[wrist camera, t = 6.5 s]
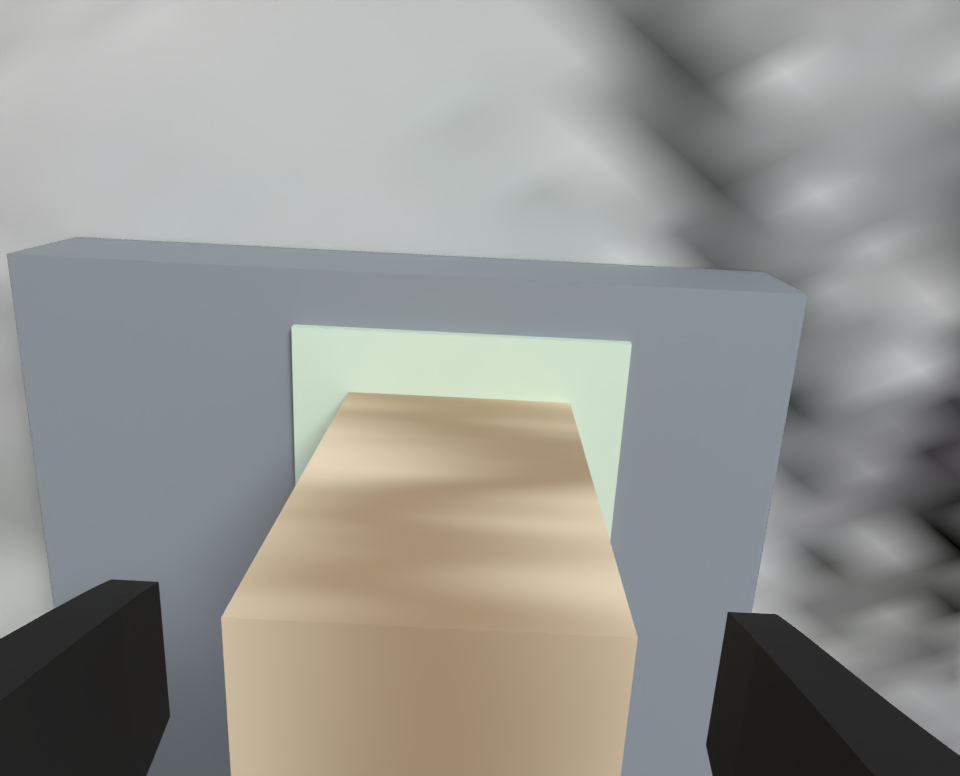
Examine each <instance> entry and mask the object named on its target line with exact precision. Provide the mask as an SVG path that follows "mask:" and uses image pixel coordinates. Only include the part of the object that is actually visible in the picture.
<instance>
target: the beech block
mask: <svg viewBox="0 0 960 776" xmlns="http://www.w3.org/2000/svg"><path fill="white" fill-rule="evenodd" d="M221 625H222V641H223V657H224V672H225V688H226V704H227V720H228V736H229V752H230V768H231V776H621V769H622V761H623V753H624V745H625V737H626V729H627V721H628V713H629V705H630V697H631V689H632V681H633V673H634V665H635V657H636V648H637V640H638V637H637V633H636V630H635V626H634V623H633V619H632V616H631V612H630V609H629V605H628V602H627V598H626V595H625V591H624V588H623V585H622V581H621V578H620V574H619V571H618V567H617V564H616V560H615V557H614V553H613V550H612V546H611V543H610V540H609V536H608V533H607V529H606V526H605V522H604V519H603V515H602V512H601V508H600V505H599V501H598V498H597V494H596V491H595V488H594V484H593V481H592V477H591V474H590V470H589V467H588V463H587V460H586V456H585V453H584V449H583V446H582V442H581V439H580V436H579V432H578V429H577V425H576V422H575V418H574V415H573V411H572V408H571V404H570V403H565V402H545V401H524V400H503V399H483V398H462V397H441V396H420V395H400V394H379V393H358V392H348V394H347V396H346V397H345V399H344V401H343V403H342V405H341V406H340V408H339V410H338V412H337V413H336V415H335V417H334V419H333V420H332V422H331V424H330V426H329V427H328V429H327V431H326V433H325V435H324V436H323V438H322V440H321V442H320V443H319V445H318V447H317V449H316V450H315V452H314V454H313V456H312V458H311V459H310V461H309V463H308V465H307V466H306V468H305V470H304V472H303V473H302V475H301V477H300V479H299V481H298V482H297V484H296V486H295V488H294V489H293V491H292V493H291V495H290V496H289V498H288V500H287V502H286V504H285V505H284V507H283V509H282V511H281V512H280V514H279V516H278V518H277V519H276V521H275V523H274V525H273V526H272V528H271V530H270V532H269V534H268V535H267V537H266V539H265V541H264V542H263V544H262V546H261V548H260V549H259V551H258V553H257V555H256V557H255V558H254V560H253V562H252V564H251V565H250V567H249V569H248V571H247V572H246V574H245V576H244V578H243V580H242V581H241V583H240V585H239V587H238V588H237V590H236V592H235V594H234V595H233V597H232V599H231V601H230V602H229V604H228V606H227V608H226V610H225V611H224V613H223V615H222V617H221Z"/></svg>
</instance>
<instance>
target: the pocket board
mask: <svg viewBox="0 0 960 776" xmlns="http://www.w3.org/2000/svg"><path fill="white" fill-rule="evenodd" d="M7 260H8V267H9V275H10V282H11V289H12V297H13V304H14V312H15V319H16V327H17V334H18V342H19V349H20V357H21V364H22V371H23V379H24V386H25V394H26V401H27V409H28V416H29V424H30V431H31V438H32V446H33V453H34V461H35V468H36V476H37V483H38V491H39V498H40V506H41V513H42V520H43V528H44V535H45V543H46V550H47V558H48V565H49V573H50V580H51V588H52V595H53V602H54V609H55V608H56V607H58V606H60V605H62V604H64V603H65V602H67V601H69V600H71V599H73V598H74V597H76V596H78V595H80V594H82V593H84V592H86V591H88V590H90V589H92V588H94V587H96V586H98V585H100V584H102V583H104V582H106V581H109V580H111V579H114V580H133V581H152V582H159V591H160V602H161V614H162V626H163V638H164V650H165V661H166V673H167V685H168V697H169V709H170V718H169V721H168V723H167V726H166V728H165V731H164V733H163V736H162V738H161V741H160V744H159V746H158V749H157V751H156V754H155V756H154V759H153V761H152V764H151V766H150V768H149V771H148V773H147V775H146V776H231V768H230V752H229V736H228V720H227V704H226V688H225V672H224V657H223V641H222V625H221V617H222V615H223V613H224V611H225V610H226V608H227V606H228V604H229V602H230V601H231V599H232V597H233V595H234V594H235V592H236V590H237V588H238V587H239V585H240V583H241V581H242V580H243V578H244V576H245V574H246V572H247V571H248V569H249V567H250V565H251V564H252V562H253V560H254V558H255V557H256V555H257V553H258V551H259V549H260V548H261V546H262V544H263V542H264V541H265V539H266V537H267V535H268V534H269V532H270V530H271V528H272V526H273V525H274V523H275V521H276V519H277V518H278V516H279V514H280V512H281V511H282V509H283V507H284V505H285V504H286V502H287V500H288V498H289V496H290V495H291V493H292V491H293V489H294V488H295V486H296V484H297V482H298V481H299V479H300V477H301V475H302V473H303V472H304V470H305V468H306V466H307V465H308V463H309V461H310V459H311V458H312V456H313V454H314V452H315V450H316V449H317V447H318V445H319V443H320V442H321V440H322V438H323V436H324V435H325V433H326V431H327V429H328V427H329V426H330V424H331V422H332V420H333V419H334V417H335V415H336V413H337V412H338V410H339V408H340V406H341V405H342V403H343V401H344V399H345V397H346V396H347V394H348V392H358V393H379V394H400V395H420V396H441V397H462V398H483V399H503V400H524V401H545V402H565V403H570V404H571V408H572V411H573V415H574V418H575V422H576V425H577V429H578V432H579V436H580V439H581V442H582V446H583V449H584V453H585V456H586V460H587V463H588V467H589V470H590V474H591V477H592V481H593V484H594V488H595V491H596V494H597V498H598V501H599V505H600V508H601V512H602V515H603V519H604V522H605V526H606V529H607V533H608V536H609V540H610V543H611V546H612V550H613V553H614V557H615V560H616V564H617V567H618V571H619V574H620V578H621V581H622V585H623V588H624V591H625V595H626V598H627V602H628V605H629V609H630V612H631V616H632V619H633V623H634V626H635V630H636V633H637V637H638V640H637V648H636V657H635V665H634V673H633V681H632V689H631V697H630V705H629V713H628V721H627V729H626V737H625V745H624V753H623V761H622V769H621V776H712V771H711V766H710V762H709V757H708V753H707V748H706V741H707V735H708V729H709V723H710V717H711V710H712V704H713V698H714V692H715V686H716V680H717V674H718V668H719V662H720V656H721V650H722V644H723V638H724V631H725V625H726V619H727V613H728V612H741V613H752V608H753V602H754V596H755V591H756V585H757V579H758V574H759V568H760V562H761V557H762V551H763V545H764V540H765V534H766V528H767V523H768V517H769V511H770V506H771V500H772V494H773V489H774V483H775V477H776V472H777V466H778V460H779V455H780V449H781V444H782V438H783V432H784V427H785V421H786V415H787V410H788V404H789V398H790V393H791V387H792V381H793V376H794V370H795V364H796V359H797V353H798V347H799V342H800V336H801V330H802V325H803V319H804V313H805V308H806V302H807V296H808V294H806V293H804V292H802V291H800V290H798V289H796V288H794V287H792V286H790V285H788V284H786V283H784V282H782V281H780V280H778V279H776V278H774V277H772V276H770V275H768V274H766V273H764V272H753V271H734V270H714V269H694V268H674V267H655V266H635V265H615V264H595V263H575V262H556V261H536V260H516V259H496V258H477V257H457V256H437V255H417V254H397V253H378V252H358V251H338V250H318V249H299V248H279V247H259V246H239V245H219V244H200V243H180V242H160V241H140V240H121V239H101V238H81V237H75V238H71V239H67V240H63V241H58V242H54V243H50V244H46V245H42V246H38V247H34V248H29V249H25V250H21V251H17V252H13V253H9V254H7Z"/></svg>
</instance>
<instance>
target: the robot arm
mask: <svg viewBox="0 0 960 776" xmlns="http://www.w3.org/2000/svg"><path fill="white" fill-rule="evenodd" d="M169 718H170V709H169V697H168V685H167V673H166V661H165V650H164V638H163V626H162V614H161V602H160V591H159V582H152V581H133V580H114V579H111V580H109V581H106V582H104V583H102V584H100V585H98V586H96V587H94V588H92V589H90V590H88V591H86V592H84V593H82V594H80V595H78V596H76V597H74V598H73V599H71V600H69V601H67V602H65V603H64V604H62V605H60V606H58V607H56V608H55V609H53V610H51V611H49V612H47V613H46V614H44V615H42V616H40V617H39V618H37V619H35V620H33V621H32V622H30V623H28V624H26V625H24V626H23V627H21V628H19V629H17V630H16V631H14V632H12V633H10V634H8V635H7V636H5V637H3V638H1V639H0V776H146V775H147V773H148V771H149V768H150V766H151V764H152V761H153V759H154V756H155V754H156V751H157V749H158V746H159V744H160V741H161V738H162V736H163V733H164V731H165V728H166V726H167V723H168V721H169ZM706 748H707V753H708V757H709V762H710V766H711V771H712V776H960V755H958V754H957V753H955V752H954V751H952V750H951V749H950V748H948V747H947V746H946V745H944V744H943V743H942V742H940V741H939V740H938V739H936V738H935V737H934V736H932V735H931V734H930V733H928V732H927V731H926V730H924V729H923V728H922V727H920V726H919V725H918V724H916V723H915V722H914V721H912V720H911V719H910V718H908V717H907V716H906V715H905V714H903V713H902V712H901V711H899V710H898V709H897V708H896V707H894V706H893V705H892V704H890V703H889V702H888V701H887V700H885V699H884V698H883V697H881V696H880V695H879V694H878V693H876V692H875V691H874V690H873V689H871V688H870V687H869V686H868V685H866V684H865V683H864V682H863V681H861V680H860V679H859V678H858V677H856V676H855V675H854V674H853V673H851V672H850V671H849V670H848V669H846V668H845V667H844V666H843V665H841V664H840V663H839V662H838V661H836V660H835V659H834V658H833V657H831V656H830V655H829V654H828V653H826V652H825V651H824V650H823V649H821V648H820V647H819V646H818V645H816V644H815V643H814V642H813V641H811V640H810V639H809V638H808V637H806V636H805V635H804V634H802V633H801V632H800V631H799V630H797V629H796V628H795V627H793V626H792V625H791V624H789V623H788V622H787V621H785V620H784V619H782V618H781V617H779V616H778V615H776V614H760V613H741V612H728V613H727V619H726V625H725V631H724V638H723V644H722V650H721V656H720V662H719V668H718V674H717V680H716V686H715V692H714V698H713V704H712V710H711V717H710V723H709V729H708V735H707V741H706Z"/></svg>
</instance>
